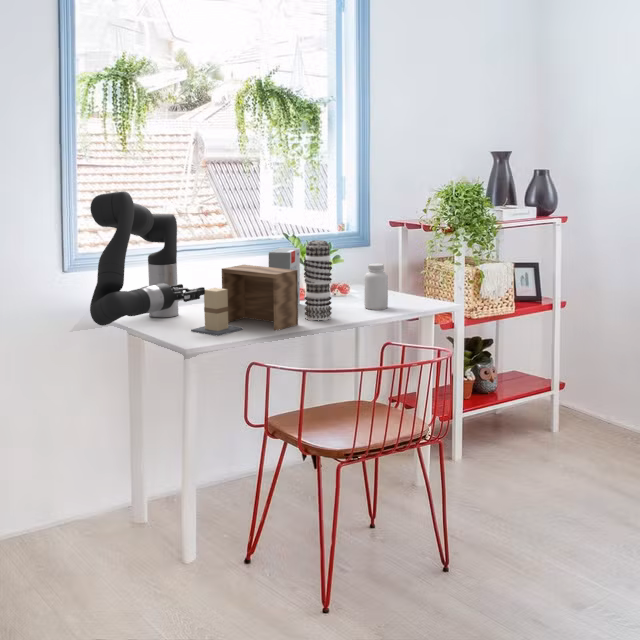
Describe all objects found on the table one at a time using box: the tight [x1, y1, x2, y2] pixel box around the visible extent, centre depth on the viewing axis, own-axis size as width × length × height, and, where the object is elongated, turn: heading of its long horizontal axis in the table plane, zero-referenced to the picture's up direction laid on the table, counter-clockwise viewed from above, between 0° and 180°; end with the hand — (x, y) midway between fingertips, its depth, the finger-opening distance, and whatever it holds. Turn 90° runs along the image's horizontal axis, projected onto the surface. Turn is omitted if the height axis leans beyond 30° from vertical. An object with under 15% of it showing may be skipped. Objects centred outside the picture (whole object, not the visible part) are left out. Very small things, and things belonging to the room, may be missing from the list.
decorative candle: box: [303, 239, 333, 322], centre depth 306 cm, size 9×9×25 cm
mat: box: [190, 324, 244, 337], centre depth 291 cm, size 11×11×1 cm
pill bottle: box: [363, 262, 389, 311], centre depth 324 cm, size 8×8×15 cm
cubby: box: [221, 264, 299, 331], centre depth 299 cm, size 11×22×17 cm, turn 54°
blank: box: [203, 287, 229, 331], centre depth 289 cm, size 5×5×12 cm
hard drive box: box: [268, 247, 301, 305], centre depth 326 cm, size 16×8×20 cm, turn 168°
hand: (192, 289), depth 280 cm, fingers open, 8 cm apart
